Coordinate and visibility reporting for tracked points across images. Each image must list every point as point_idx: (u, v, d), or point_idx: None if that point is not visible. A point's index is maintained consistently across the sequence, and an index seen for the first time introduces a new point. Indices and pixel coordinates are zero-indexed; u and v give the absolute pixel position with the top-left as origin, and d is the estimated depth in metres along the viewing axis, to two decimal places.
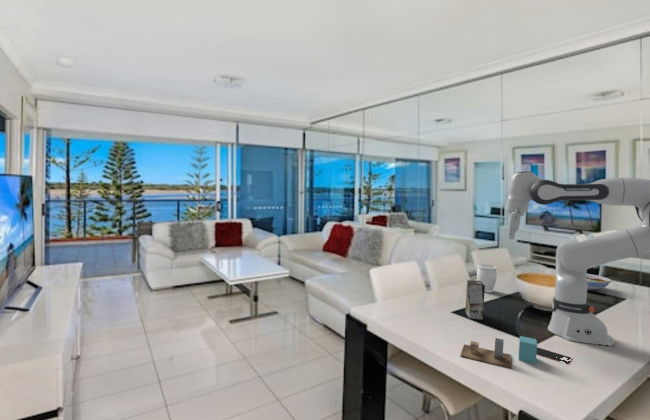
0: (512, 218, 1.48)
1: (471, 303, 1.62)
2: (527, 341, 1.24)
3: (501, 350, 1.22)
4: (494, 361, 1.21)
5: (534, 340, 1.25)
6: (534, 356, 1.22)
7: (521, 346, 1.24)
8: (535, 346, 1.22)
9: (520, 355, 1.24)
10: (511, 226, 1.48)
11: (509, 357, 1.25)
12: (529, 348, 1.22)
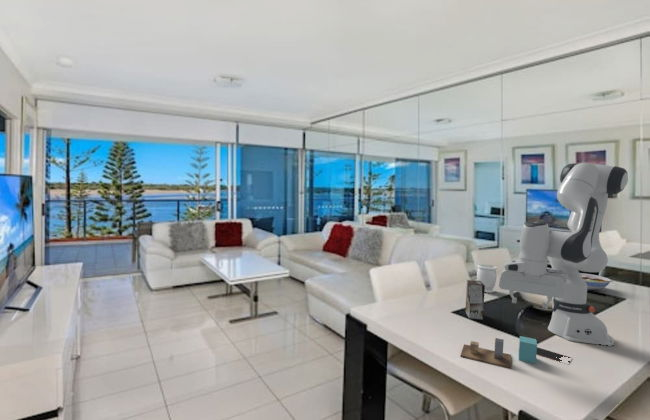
0: (564, 284, 1.18)
1: (471, 303, 1.62)
2: (527, 341, 1.24)
3: (501, 350, 1.22)
4: (494, 361, 1.21)
5: (534, 340, 1.25)
6: (534, 356, 1.22)
7: (521, 346, 1.24)
8: (535, 346, 1.22)
9: (520, 355, 1.24)
10: (564, 294, 1.18)
11: (509, 357, 1.25)
12: (529, 348, 1.22)
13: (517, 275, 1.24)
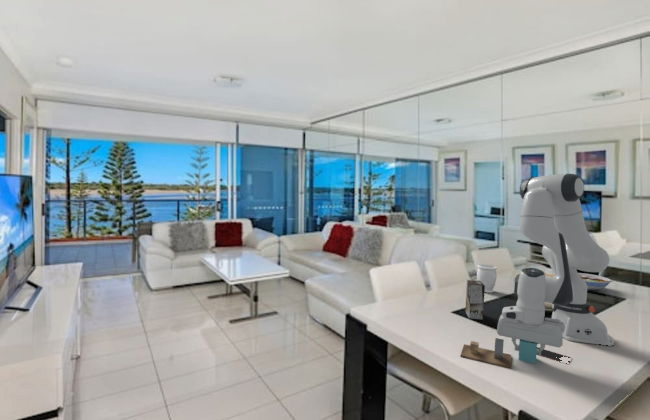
0: (562, 334, 1.19)
1: (471, 303, 1.62)
2: (527, 341, 1.24)
3: (501, 350, 1.22)
4: (494, 361, 1.21)
5: None
6: (534, 356, 1.22)
7: (521, 346, 1.24)
8: (535, 346, 1.22)
9: (520, 355, 1.24)
10: None
11: (509, 357, 1.25)
12: (529, 348, 1.22)
13: (515, 323, 1.25)
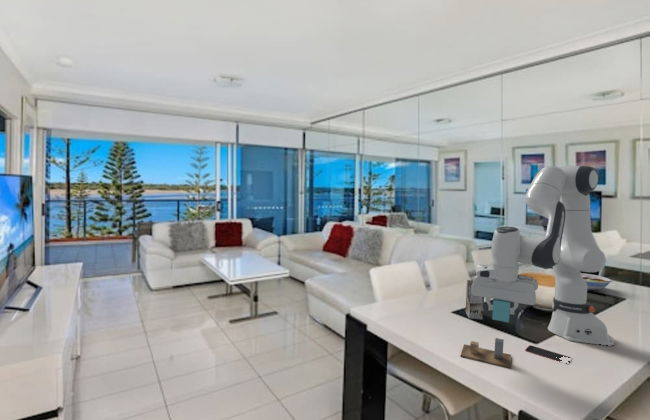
0: None
1: (471, 303, 1.62)
2: (501, 300, 1.22)
3: (501, 350, 1.22)
4: (494, 361, 1.21)
5: None
6: (507, 315, 1.20)
7: (494, 305, 1.21)
8: (508, 304, 1.19)
9: (493, 314, 1.22)
10: (535, 301, 1.17)
11: (509, 357, 1.25)
12: (502, 307, 1.20)
13: (489, 282, 1.23)
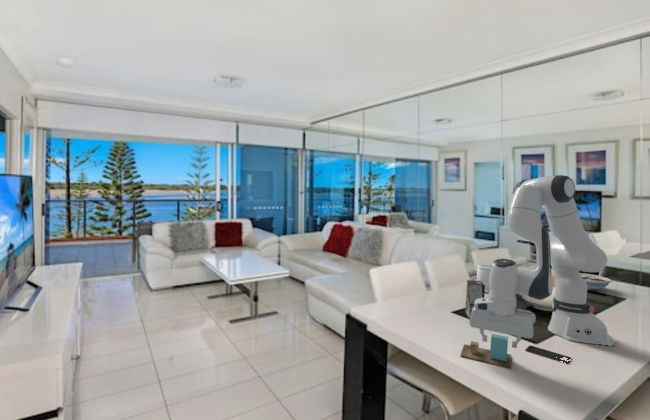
0: (532, 325, 1.18)
1: (471, 303, 1.62)
2: (498, 339, 1.23)
3: None
4: (494, 361, 1.21)
5: (505, 338, 1.24)
6: (505, 354, 1.21)
7: (492, 344, 1.23)
8: (506, 344, 1.20)
9: (491, 352, 1.23)
10: None
11: (509, 357, 1.25)
12: (500, 346, 1.21)
13: (487, 314, 1.24)
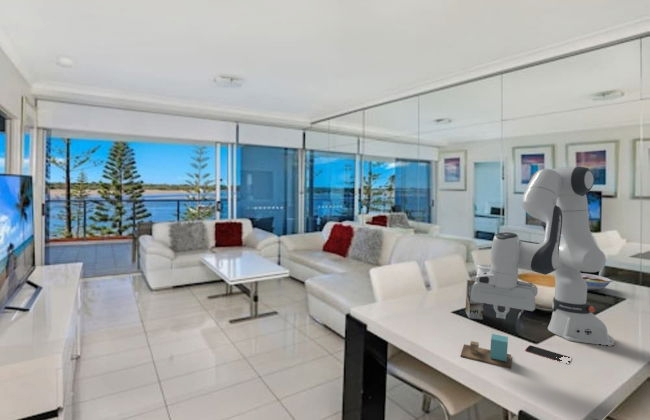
0: (534, 297, 1.17)
1: (471, 303, 1.62)
2: (498, 339, 1.23)
3: None
4: (494, 361, 1.21)
5: (505, 338, 1.24)
6: (505, 354, 1.21)
7: (492, 344, 1.23)
8: (506, 344, 1.20)
9: (491, 352, 1.23)
10: None
11: (509, 357, 1.25)
12: (500, 346, 1.21)
13: (488, 288, 1.23)
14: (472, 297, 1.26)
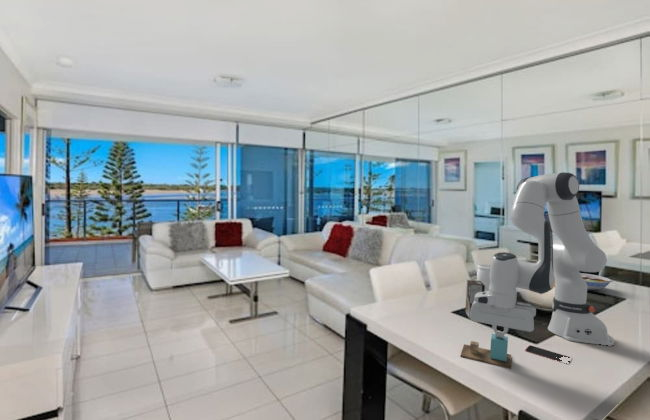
0: None
1: (471, 303, 1.62)
2: (498, 339, 1.23)
3: None
4: (494, 361, 1.21)
5: (505, 338, 1.24)
6: (505, 354, 1.21)
7: (492, 344, 1.23)
8: (506, 344, 1.20)
9: (491, 352, 1.23)
10: (533, 328, 1.18)
11: (509, 357, 1.25)
12: (500, 346, 1.21)
13: (487, 308, 1.23)
14: (471, 317, 1.26)
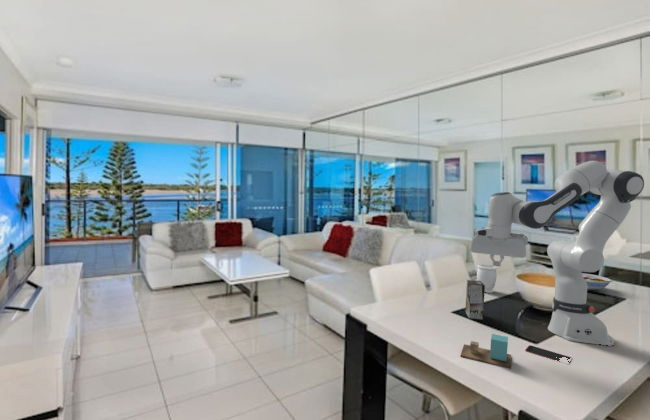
0: (525, 245, 1.37)
1: (471, 303, 1.62)
2: (498, 339, 1.23)
3: None
4: (494, 361, 1.21)
5: (505, 338, 1.24)
6: (505, 354, 1.21)
7: (492, 344, 1.23)
8: (506, 344, 1.20)
9: (491, 352, 1.23)
10: (525, 254, 1.37)
11: (509, 357, 1.25)
12: (500, 346, 1.21)
13: (486, 240, 1.43)
14: (472, 249, 1.45)
